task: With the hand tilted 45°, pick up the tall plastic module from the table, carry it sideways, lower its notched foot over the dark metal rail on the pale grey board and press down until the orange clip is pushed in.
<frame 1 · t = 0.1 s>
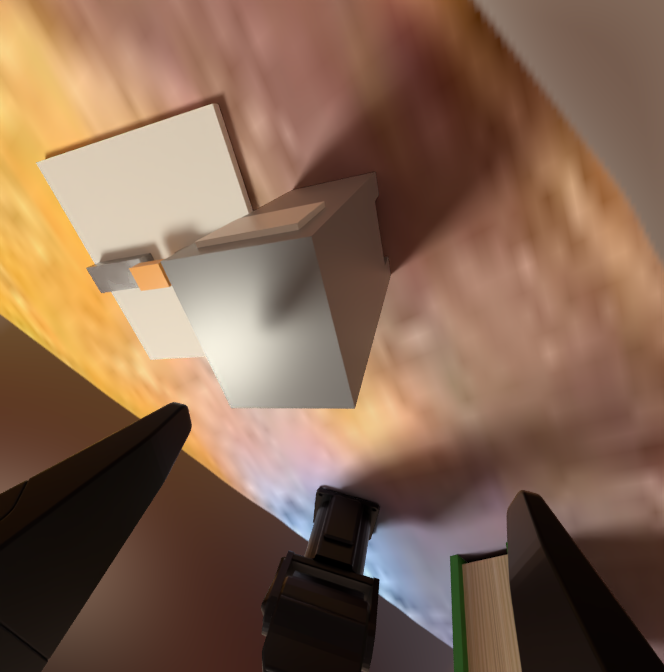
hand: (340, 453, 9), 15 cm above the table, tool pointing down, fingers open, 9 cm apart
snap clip: (154, 274, 23), point 3 cm above the table, slide at 0.0 cm
din rail: (168, 266, 24), on the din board, point 1 cm above the table
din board: (178, 260, 25), on the table
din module: (342, 233, 21), on the table
hardback book: (533, 590, 37), on the table
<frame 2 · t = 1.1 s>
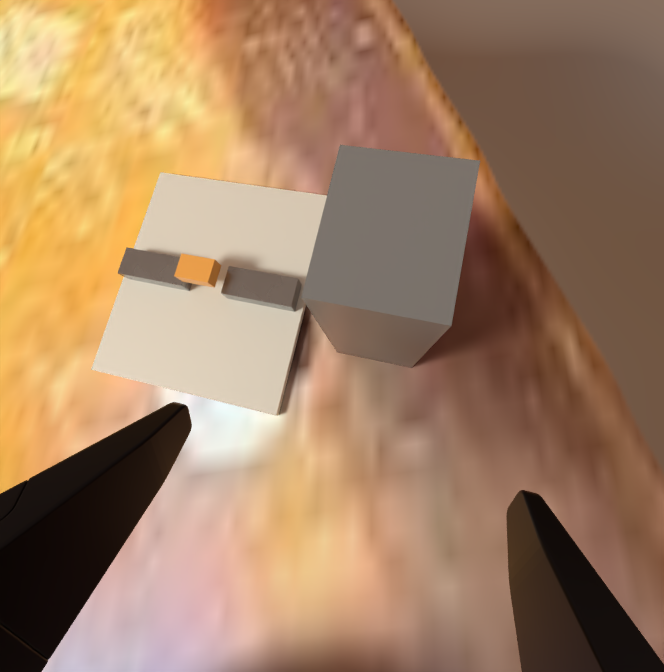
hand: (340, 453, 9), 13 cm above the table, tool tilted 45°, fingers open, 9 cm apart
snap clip: (198, 270, 23), point 3 cm above the table, slide at 0.0 cm
din rail: (208, 278, 24), on the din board, point 1 cm above the table
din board: (216, 284, 25), on the table
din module: (382, 317, 24), on the table
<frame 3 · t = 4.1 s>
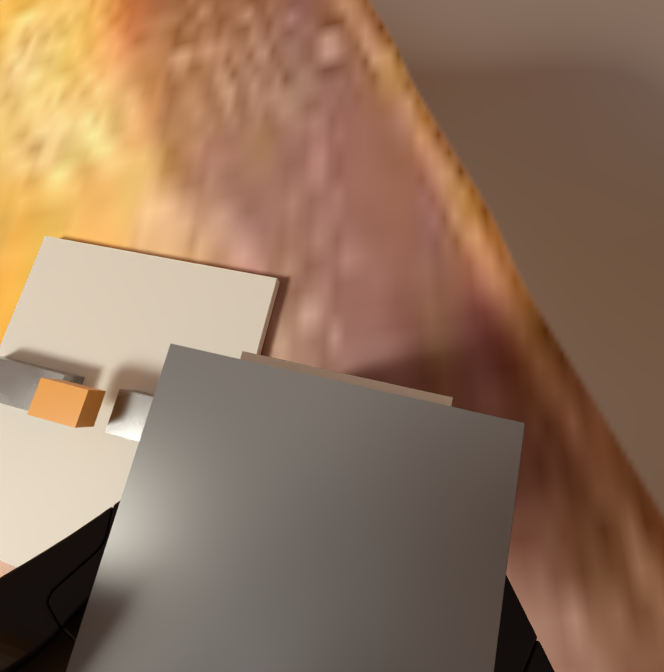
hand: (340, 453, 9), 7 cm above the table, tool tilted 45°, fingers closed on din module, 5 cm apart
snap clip: (67, 402, 15), point 3 cm above the table, slide at 0.0 cm
din rail: (94, 402, 17), on the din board, point 1 cm above the table
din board: (112, 403, 18), on the table
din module: (347, 465, 16), on the table, touching gripper
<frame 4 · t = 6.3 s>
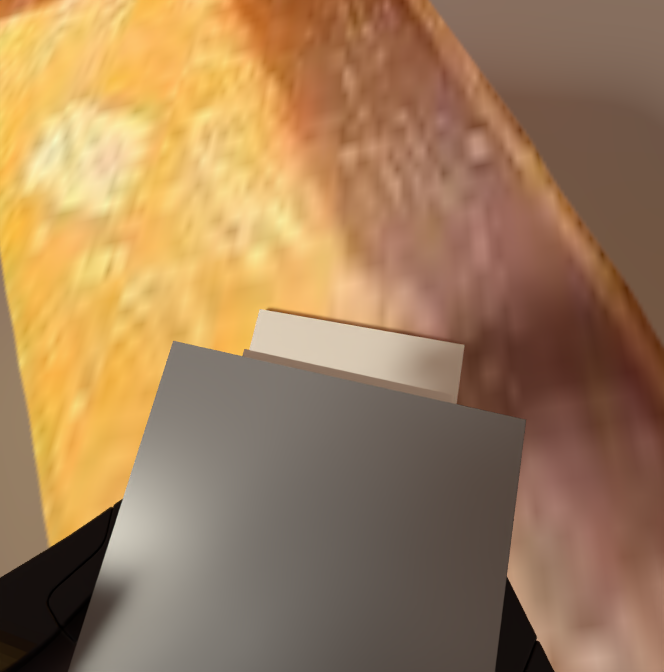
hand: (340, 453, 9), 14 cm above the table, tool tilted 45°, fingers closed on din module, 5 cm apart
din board: (334, 446, 22), on the table
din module: (347, 464, 16), point 7 cm above the table, touching gripper
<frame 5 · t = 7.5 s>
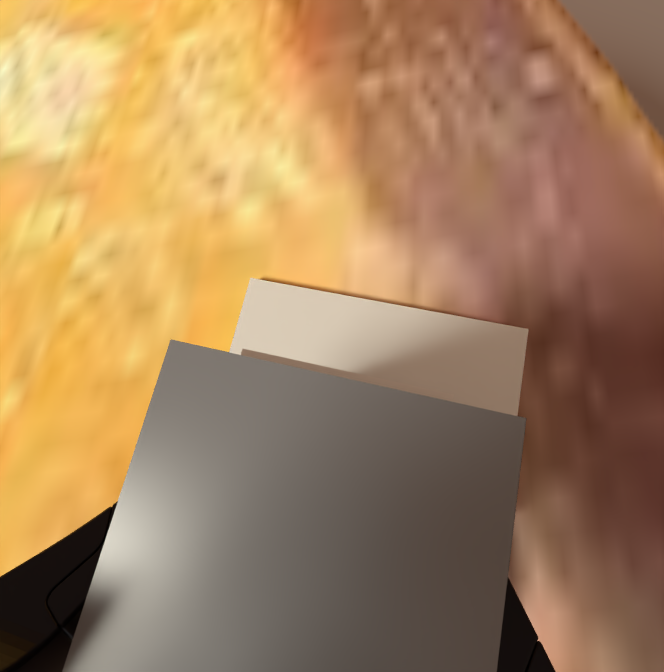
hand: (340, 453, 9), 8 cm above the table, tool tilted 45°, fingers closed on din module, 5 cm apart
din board: (347, 463, 16), on the table
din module: (346, 467, 16), point 1 cm above the table, touching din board, gripper
when the fingers open (8 cm above the table, at t = 8.8 s): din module stays where it is, resting on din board.
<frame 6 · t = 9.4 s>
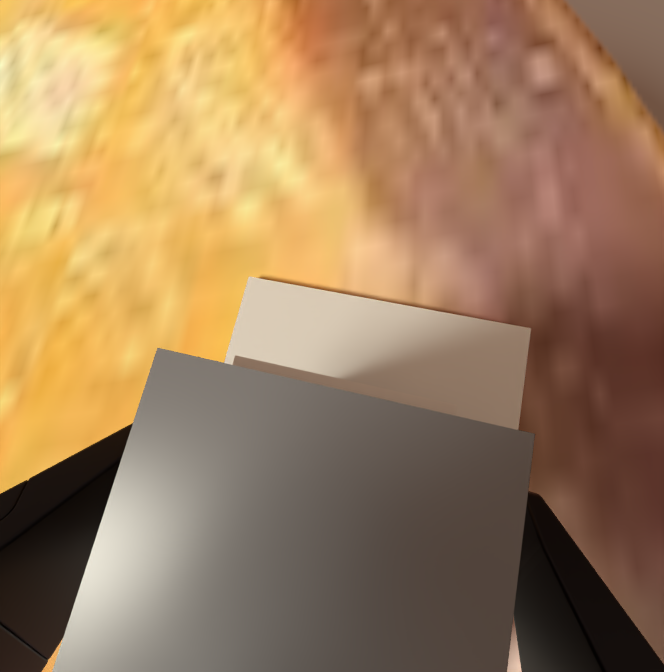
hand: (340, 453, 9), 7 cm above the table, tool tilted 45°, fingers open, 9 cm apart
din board: (347, 465, 16), on the table
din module: (346, 469, 16), point 1 cm above the table, touching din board
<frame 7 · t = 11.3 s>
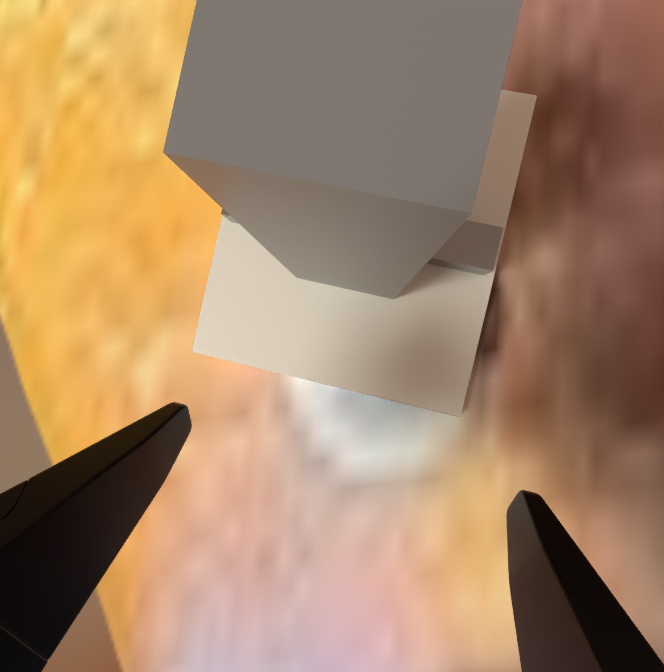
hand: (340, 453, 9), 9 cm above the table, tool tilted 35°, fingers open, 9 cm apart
din rail: (357, 224, 17), on the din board, point 1 cm above the table
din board: (357, 232, 18), on the table
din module: (357, 230, 17), point 1 cm above the table, touching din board
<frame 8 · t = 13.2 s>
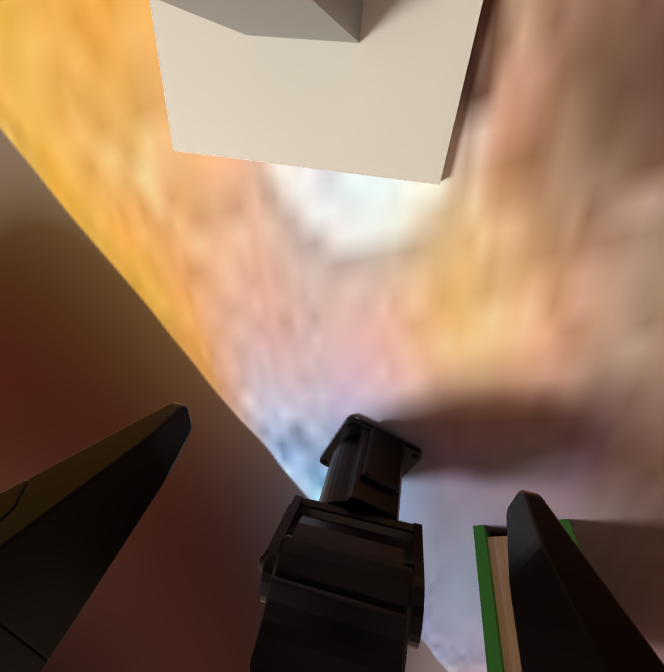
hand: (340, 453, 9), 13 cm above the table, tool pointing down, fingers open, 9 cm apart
hardback book: (546, 575, 32), on the table
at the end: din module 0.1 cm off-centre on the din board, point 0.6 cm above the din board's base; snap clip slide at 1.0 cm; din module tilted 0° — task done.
